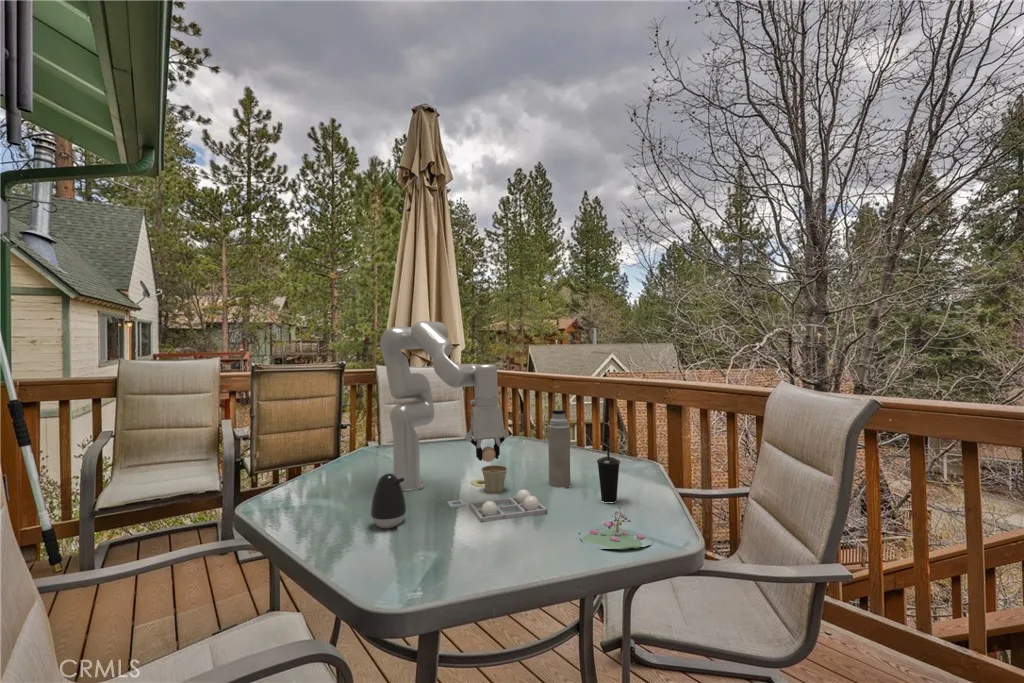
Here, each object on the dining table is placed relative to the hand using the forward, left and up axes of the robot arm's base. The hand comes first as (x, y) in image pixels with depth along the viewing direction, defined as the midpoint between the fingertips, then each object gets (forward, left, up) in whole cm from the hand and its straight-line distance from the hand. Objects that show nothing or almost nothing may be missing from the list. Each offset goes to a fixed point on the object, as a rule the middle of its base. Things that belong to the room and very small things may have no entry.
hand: (488, 458), depth 152 cm
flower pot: (+7, +15, -16) cm, 23 cm away
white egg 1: (-2, -9, -16) cm, 18 cm away
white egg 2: (+11, -2, -16) cm, 19 cm away
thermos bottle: (+32, +14, -16) cm, 38 cm away
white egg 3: (+11, -9, -16) cm, 21 cm away
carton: (+5, -5, -16) cm, 18 cm away
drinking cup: (+40, -8, -16) cm, 44 cm away
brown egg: (0, -1, -1) cm, 1 cm away
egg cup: (-9, +5, -16) cm, 19 cm away
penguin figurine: (-31, -3, -16) cm, 36 cm away
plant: (+28, -31, -17) cm, 45 cm away
